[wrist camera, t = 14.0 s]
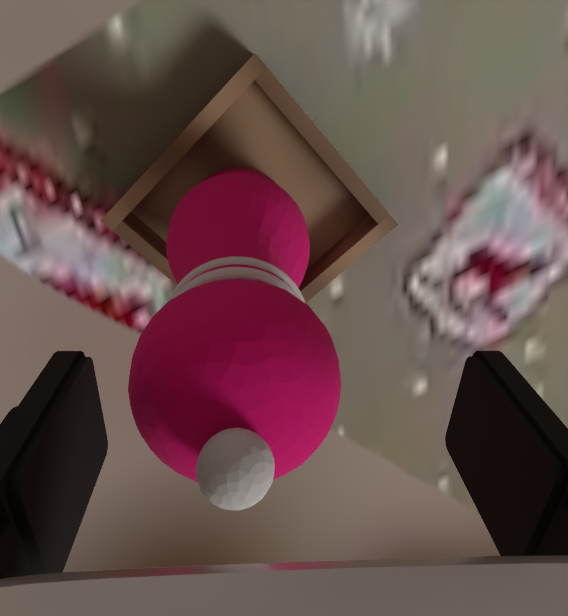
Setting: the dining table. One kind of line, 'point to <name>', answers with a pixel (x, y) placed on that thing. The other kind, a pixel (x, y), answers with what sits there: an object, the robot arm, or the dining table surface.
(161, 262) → the walnut tray
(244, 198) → the magenta pepper mill
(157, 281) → the dining table surface
